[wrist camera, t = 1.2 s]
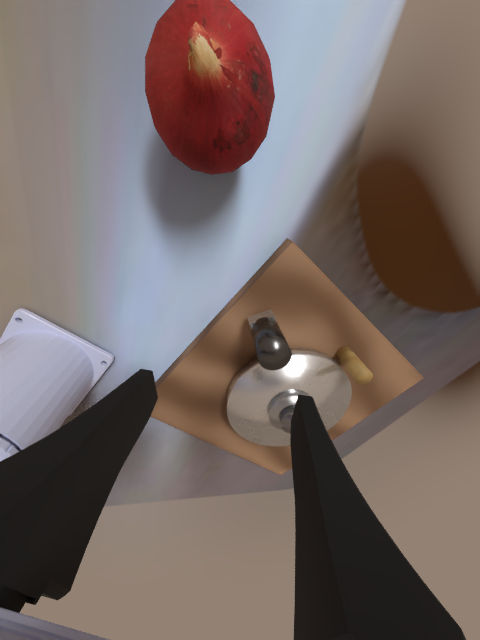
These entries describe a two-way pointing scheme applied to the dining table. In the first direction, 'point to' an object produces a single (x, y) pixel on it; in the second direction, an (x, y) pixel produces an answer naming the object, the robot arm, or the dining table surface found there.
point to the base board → (299, 331)
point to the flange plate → (283, 386)
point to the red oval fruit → (209, 85)
